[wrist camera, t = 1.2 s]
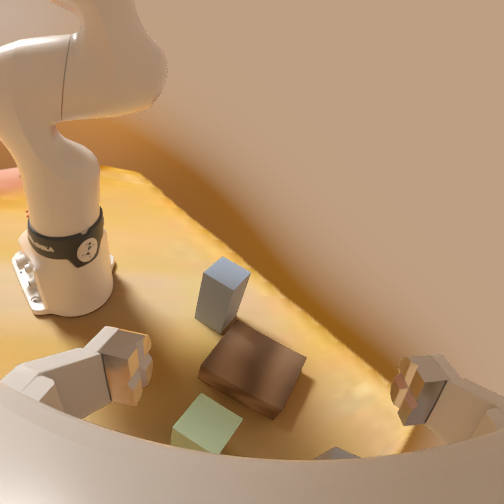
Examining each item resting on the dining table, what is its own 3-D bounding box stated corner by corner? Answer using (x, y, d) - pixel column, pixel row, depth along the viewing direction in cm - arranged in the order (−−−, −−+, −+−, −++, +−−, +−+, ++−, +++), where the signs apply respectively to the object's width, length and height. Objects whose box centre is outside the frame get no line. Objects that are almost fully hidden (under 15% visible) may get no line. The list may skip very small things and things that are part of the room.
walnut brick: (197, 378, 40) (200, 365, 37) (230, 334, 47) (236, 319, 45) (272, 420, 37) (281, 410, 35) (296, 370, 45) (306, 357, 42)
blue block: (194, 317, 48) (203, 272, 42) (211, 300, 52) (222, 256, 46) (220, 334, 46) (233, 290, 41) (235, 316, 50) (251, 272, 45)
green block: (169, 450, 30) (172, 427, 24) (192, 422, 34) (201, 392, 28) (204, 472, 29) (217, 456, 23) (225, 443, 32) (243, 418, 27)
